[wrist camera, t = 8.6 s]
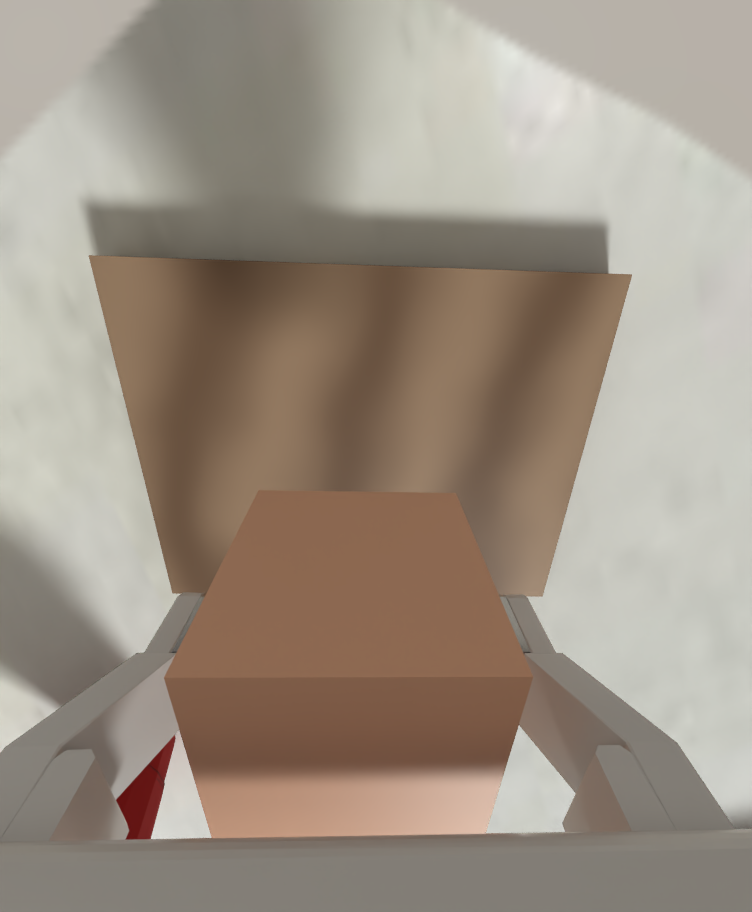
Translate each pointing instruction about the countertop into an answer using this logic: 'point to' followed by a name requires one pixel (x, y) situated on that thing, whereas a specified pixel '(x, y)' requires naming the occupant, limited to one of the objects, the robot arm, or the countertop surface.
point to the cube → (349, 671)
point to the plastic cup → (145, 795)
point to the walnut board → (358, 393)
